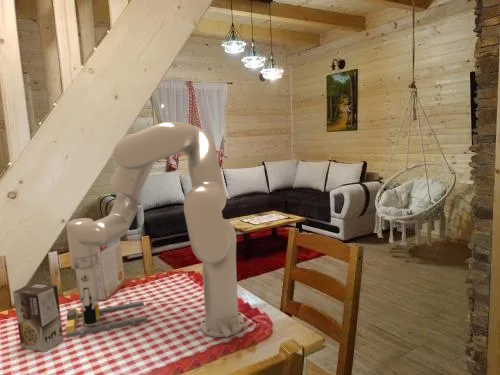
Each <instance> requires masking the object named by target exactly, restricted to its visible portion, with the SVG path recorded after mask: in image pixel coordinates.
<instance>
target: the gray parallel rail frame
mask: <svg viewBox="0 0 500 375" xmlns="http://www.w3.org/2000/svg"><path fill="white" fill-rule="evenodd" d="M144 302H145V301H144V300H141V301H136V302H133V301H130V302H128V303H126V304H119V305H114V306H111V305H109V306H108V305H107V306H106V307H104V308H99V315H101V314H102V315H103V314H107V313H114V312H117V311H123V310H129V309H133V308H137V307H143V306H145V303H144ZM80 318H81V319H82V311H81V312H78V319H80ZM141 322H142V323H145V322H148V317H147V315H146V316H141V317H140V316H139V317H136V318H130V319H126V320H125V319H124V320H121V321H115V322H110V323H105V324H100V325H93V326H88V327H85V328H80V329H76V330H75V331H74V332H72V333H66V335H65V336H66V339H68V338H72V337H77V336H79V337H84V336H85V335H88V334H92V333H96V332H101V331H106V332H109V331H111V330H112V329H116V328H117V329H118V328H121V327H122V328H123V327H125V326H132V327H134V326H136V323H137V324H140V323H141Z"/></svg>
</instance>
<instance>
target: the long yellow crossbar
mask: <svg viewBox="0 0 500 375" xmlns="http://www.w3.org/2000/svg"><path fill="white" fill-rule="evenodd" d="M78 313H79V312H78V307H75V308H74V307H73V308H70V309H68V310H67V313H66V325H65V333H66V334H67V333H72V332H74V331H75V330H77V326H78V325H77V324H78V319H79V318H78Z"/></svg>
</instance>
